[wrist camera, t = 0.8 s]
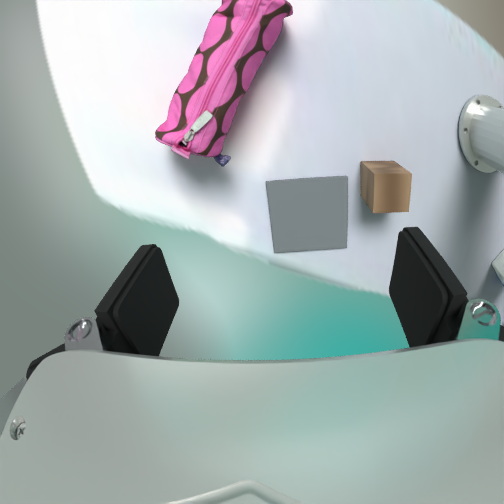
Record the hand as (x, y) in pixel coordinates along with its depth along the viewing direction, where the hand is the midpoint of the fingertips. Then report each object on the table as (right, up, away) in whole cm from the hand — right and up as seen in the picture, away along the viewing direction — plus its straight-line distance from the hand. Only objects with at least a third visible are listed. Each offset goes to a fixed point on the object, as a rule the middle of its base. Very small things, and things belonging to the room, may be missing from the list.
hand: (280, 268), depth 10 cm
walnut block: (+16, +11, +24) cm, 31 cm away
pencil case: (-4, +23, +19) cm, 30 cm away
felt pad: (+7, +6, +28) cm, 29 cm away
